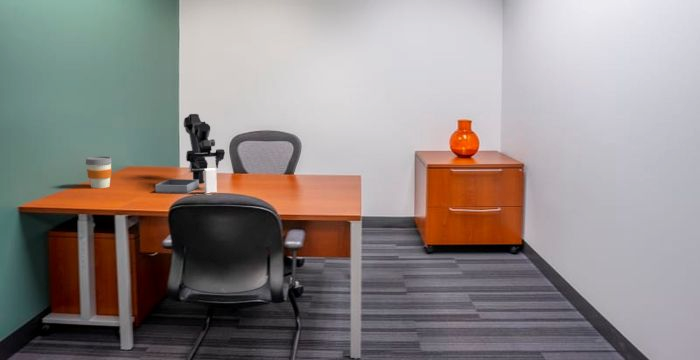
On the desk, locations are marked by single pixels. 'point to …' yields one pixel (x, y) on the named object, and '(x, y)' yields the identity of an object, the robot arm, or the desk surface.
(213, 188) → the cream block
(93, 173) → the reusable coffee cup
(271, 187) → the desk surface
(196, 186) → the tray
